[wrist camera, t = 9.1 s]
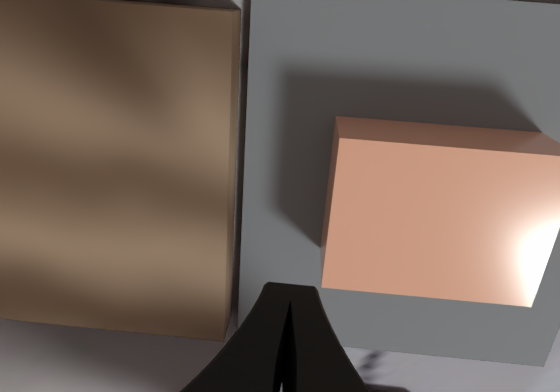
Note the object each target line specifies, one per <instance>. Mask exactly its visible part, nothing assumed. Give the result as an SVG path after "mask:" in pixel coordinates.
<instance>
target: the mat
mask: <svg viewBox="0 0 560 392" xmlns="http://www.w3.org/2000/svg"><path fill="white" fill-rule="evenodd" d="M336 116H343V117H355V118H368V119H380V120H393V121H405V122H417V123H430V124H442V125H455V126H467V127H479V128H492V129H504V130H517V131H529V132H541V133H544V134H546V135H547V136H549V137H551V138H552V139H554V140H555V141H557V142H559V143H560V4H550V3H537V2H524V1H511V0H251V13H250V37H249V61H248V85H247V110H246V134H245V158H244V182H243V207H242V231H241V255H240V279H239V304H238V328H239V327H240V326H241V324H242V323H243V321H244V320H245V318H246V317H247V315H248V314H249V312H250V311H251V309H252V308H253V306H254V304H255V303H256V301H257V299H258V297H259V295H260V293H261V291H262V289H263V286H264V284H266V283H267V282H277V283H287V284H297V285H307V286H315V287H316V289H317V290H318V292H319V296H320V299H321V302H322V305H323V308H324V310H325V313H326V315H327V317H328V320H329V322H330V324H331V326H332V328H333V330H334V332H335V334H336V336H337V338H338V340H339V342H340V344H341V346H343V347H353V348H363V349H372V350H382V351H392V352H402V353H412V354H422V355H432V356H442V357H451V358H461V359H471V360H481V361H491V362H501V363H511V364H521V365H530V366H540V367H544V365H545V362H546V360H547V357H548V355H549V352H550V350H551V347H552V345H553V342H554V340H555V337H556V335H557V332H558V330H559V327H560V228H559V231H558V233H557V236H556V239H555V242H554V245H553V247H552V250H551V253H550V256H549V259H548V262H547V264H546V267H545V270H544V273H543V276H542V279H541V281H540V284H539V287H538V290H537V293H536V295H535V298H534V301H533V304H532V307H525V306H514V305H503V304H493V303H482V302H471V301H460V300H450V299H439V298H428V297H418V296H407V295H396V294H385V293H375V292H364V291H353V290H342V289H332V288H321V260H320V245H321V237H322V228H323V220H324V211H325V203H326V194H327V185H328V177H329V168H330V160H331V151H332V143H333V134H334V125H335V117H336ZM238 328H237V330H238Z"/></svg>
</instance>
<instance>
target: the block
mask: <svg viewBox="0 0 560 392" xmlns="http://www.w3.org/2000/svg"><path fill="white" fill-rule="evenodd" d="M559 228H560V143H559V142H557V141H555V140H554V139H552V138H551V137H549V136H547V135H546V134H544V133H541V132H529V131H517V130H504V129H492V128H479V127H467V126H455V125H442V124H430V123H417V122H405V121H393V120H380V119H368V118H355V117H343V116H336V117H335V125H334V134H333V143H332V151H331V160H330V168H329V177H328V185H327V194H326V203H325V211H324V220H323V228H322V237H321V245H320V260H321V288H332V289H342V290H353V291H364V292H375V293H385V294H396V295H407V296H418V297H428V298H439V299H450V300H460V301H471V302H482V303H493V304H503V305H514V306H525V307H532V304H533V301H534V298H535V295H536V293H537V290H538V287H539V284H540V281H541V279H542V276H543V273H544V270H545V267H546V264H547V262H548V259H549V256H550V253H551V250H552V247H553V245H554V242H555V239H556V236H557V233H558V231H559Z"/></svg>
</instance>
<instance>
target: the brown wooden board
mask: <svg viewBox="0 0 560 392" xmlns="http://www.w3.org/2000/svg"><path fill="white" fill-rule="evenodd" d="M240 31H241V10H240V9H227V8H214V7H202V6H189V5H176V4H164V3H151V2H138V1H126V0H0V319H7V320H17V321H26V322H36V323H46V324H56V325H66V326H76V327H85V328H95V329H105V330H115V331H125V332H135V333H144V334H154V335H164V336H174V337H184V338H194V339H203V340H213V341H223V342H224V339H225V335H226V331H227V327H228V324H229V320H230V316H231V299H232V270H233V240H234V210H235V180H236V150H237V120H238V90H239V61H240Z"/></svg>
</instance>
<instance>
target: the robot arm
mask: <svg viewBox="0 0 560 392" xmlns="http://www.w3.org/2000/svg"><path fill="white" fill-rule="evenodd" d="M281 383H282V384H281ZM180 392H370V390H369V389H368V387H367V386H366V385H365V383H364V382H363V380H362V379H361V377H360V376H359V374H358V373H357V371H356V370H355V368H354V366H353V365H352V363H351V361H350V360H349V358H348V356H347V355H346V353H345V351H344V349H343V348H342V346H341V344H340V342H339V340H338V338H337V336H336V334H335V332H334V330H333V328H332V326H331V324H330V322H329V320H328V317H327V315H326V313H325V310H324V308H323V305H322V302H321V299H320V296H319V292H318V290H317V289H316V287H315V286H307V285H297V284H287V283H277V282H267V283H266V284H264V286H263V289H262V291H261V293H260V295H259V297H258V299H257V301H256V303H255V304H254V306H253V308H252V309H251V311H250V312H249V314H248V315H247V317H246V318H245V320H244V321H243V323H242V324H241V326H240V327H239V328H238V330H237V331H236V332H235V334H234V335H233V336H232V337H231V339H230V340H229V341H228V342H227V344H226V345H225V346H224V347H223V349H222V350H221V351H220V352H219V353H218V355H217V356H216V357H215V358H214V359H213V360H212V361H211V362H210V363H209V364H208V365H207V366H206V367H205V369H204V370H203V371H202V372H201V373H200V374H199V375H198V376H197V377H196V378H194V379H193V380H192V381H191V382H190V383H189V384H188V385H187V386H186V387H185V388H184V389H182V390H181V391H180Z"/></svg>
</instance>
